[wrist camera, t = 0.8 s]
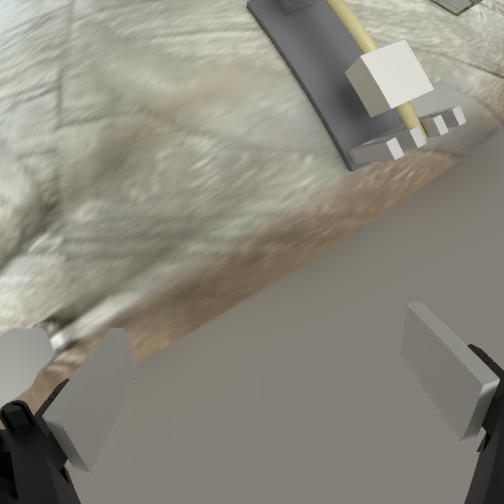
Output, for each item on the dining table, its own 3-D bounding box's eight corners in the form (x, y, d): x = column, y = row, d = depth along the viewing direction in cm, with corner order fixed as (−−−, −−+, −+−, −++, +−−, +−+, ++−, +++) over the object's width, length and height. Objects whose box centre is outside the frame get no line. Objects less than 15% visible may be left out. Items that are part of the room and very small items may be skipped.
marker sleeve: (344, 72, 26) (360, 55, 21) (384, 56, 26) (404, 39, 21) (371, 117, 27) (391, 108, 22) (409, 99, 27) (433, 89, 22)
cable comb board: (247, 7, 31) (244, -51, 19) (315, -18, 30) (334, -74, 18) (349, 171, 36) (392, 171, 24) (414, 136, 34) (473, 127, 22)
